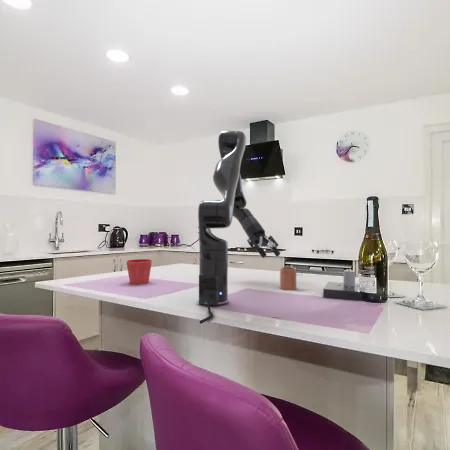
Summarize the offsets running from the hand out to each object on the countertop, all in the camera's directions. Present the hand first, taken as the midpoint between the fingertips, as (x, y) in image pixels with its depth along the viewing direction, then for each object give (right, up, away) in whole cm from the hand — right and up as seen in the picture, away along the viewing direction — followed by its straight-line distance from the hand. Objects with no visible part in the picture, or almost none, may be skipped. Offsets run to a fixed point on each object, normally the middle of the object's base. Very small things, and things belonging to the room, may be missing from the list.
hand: (271, 255), depth 139 cm
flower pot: (-57, -12, +5) cm, 58 cm away
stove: (+23, -12, -18) cm, 32 cm away
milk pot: (+6, -12, -7) cm, 15 cm away
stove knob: (+26, -9, -17) cm, 33 cm away
